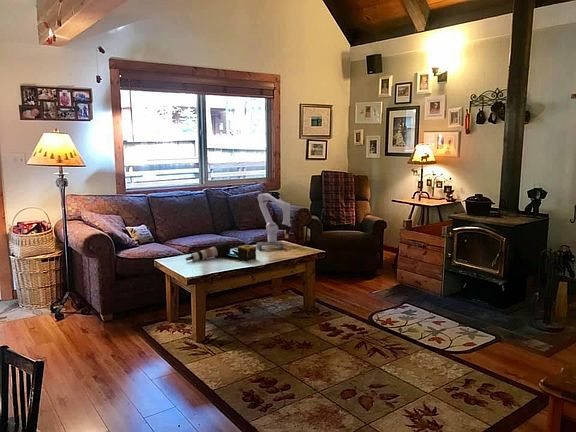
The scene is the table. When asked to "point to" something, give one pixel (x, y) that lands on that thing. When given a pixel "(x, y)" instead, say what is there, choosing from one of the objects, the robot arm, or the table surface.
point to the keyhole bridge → (260, 244)
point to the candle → (246, 253)
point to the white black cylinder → (211, 252)
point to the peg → (286, 234)
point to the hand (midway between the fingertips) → (286, 233)
